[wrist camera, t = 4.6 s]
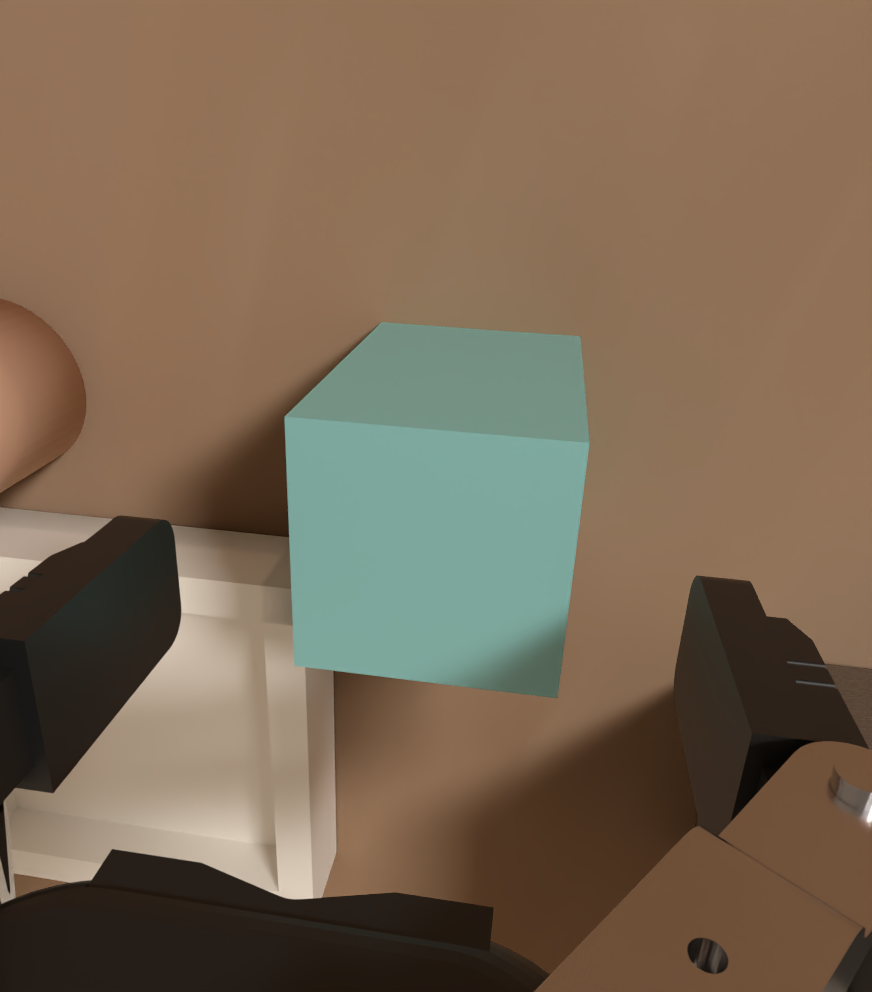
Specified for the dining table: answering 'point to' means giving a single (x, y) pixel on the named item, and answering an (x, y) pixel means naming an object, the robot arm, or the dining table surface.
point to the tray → (195, 729)
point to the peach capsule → (35, 394)
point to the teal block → (439, 507)
